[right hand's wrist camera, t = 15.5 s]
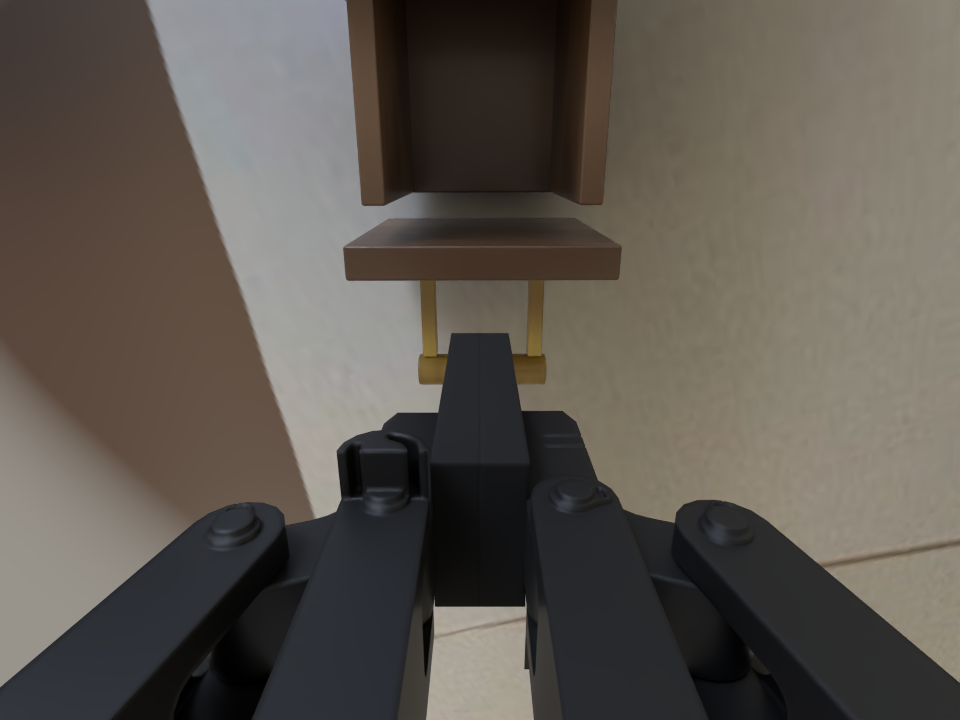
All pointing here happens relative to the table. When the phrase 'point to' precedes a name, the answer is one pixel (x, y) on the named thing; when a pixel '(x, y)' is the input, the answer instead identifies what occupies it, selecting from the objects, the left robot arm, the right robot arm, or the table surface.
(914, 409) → the table surface
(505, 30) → the drawer
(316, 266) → the table surface
